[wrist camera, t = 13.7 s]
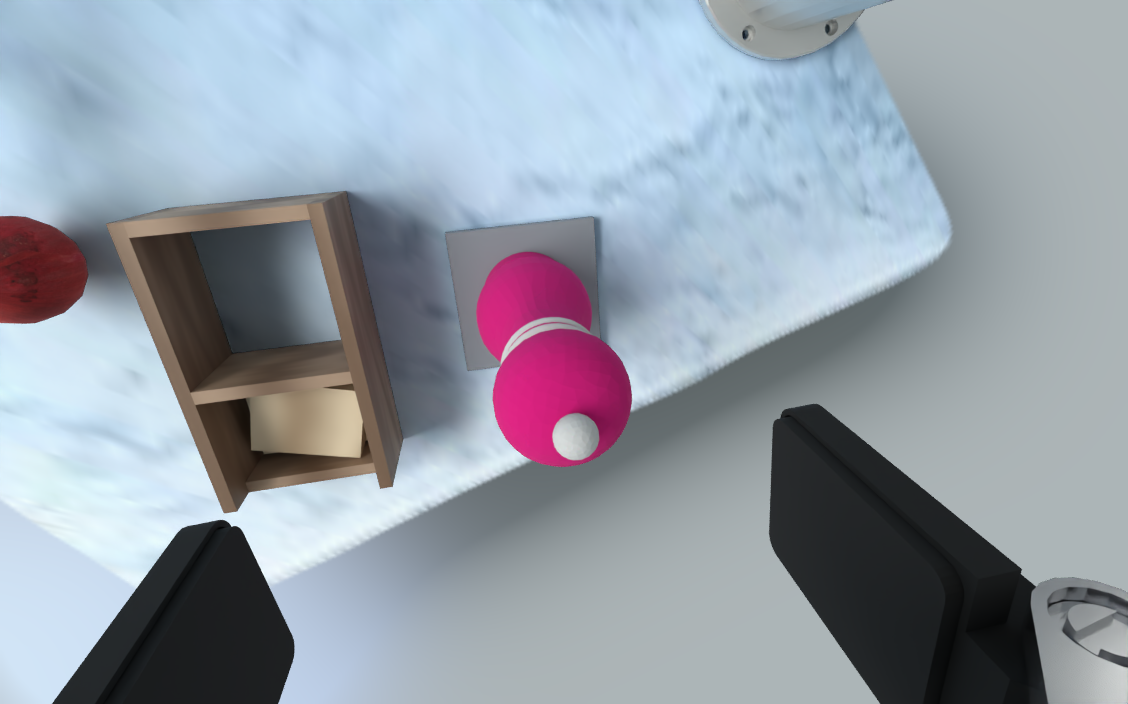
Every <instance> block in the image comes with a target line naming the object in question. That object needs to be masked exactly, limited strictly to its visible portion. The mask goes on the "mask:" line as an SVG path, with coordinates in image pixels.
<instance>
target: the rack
mask: <svg viewBox="0 0 1128 704" xmlns="http://www.w3.org/2000/svg"><path fill="white" fill-rule="evenodd" d="M301 220H311V224H312V228H313V232H314V236H315V239H316V243H317V247H318V251H319V255H320V259H321V263H322V266H323V270H324V274H325V278H326V282H327V286H328V289H329V293H330V297H331V301H332V305H333V309H334V313H335V316H336V320H337V324H338V328H339V332H340V336H341V340H336V341H328V342H321V343H313V344H305V345H297V346H289V347H281V348H273V349H265V350H257V351H249V352H242V353H234V354H232V352H231V349H230V346H229V343H228V340H227V337H226V334H225V332H224V329H223V326H222V323H221V320H220V317H219V314H218V312H217V309H216V306H215V303H214V300H213V297H212V294H211V292H210V289H209V286H208V283H207V280H206V277H205V274H204V271H203V269H202V266H201V263H200V260H199V257H198V254H197V251H196V249H195V246H194V243H193V240H192V237H191V234H190V232H193V231H202V230H212V229H222V228H232V227H242V226H252V225H262V224H272V223H282V222H291V221H301ZM106 226H107V228H108V230H109V233H110V235H111V238H112V240H113V243H114V245H115V248H116V250H117V252H118V255H119V257H120V260H121V262H122V265H123V267H124V270H125V272H126V275H127V277H128V279H129V282H130V284H131V287H132V289H133V292H134V294H135V297H136V299H137V301H138V304H139V306H140V309H141V311H142V314H143V316H144V319H145V321H146V324H147V326H148V328H149V331H150V333H151V336H152V338H153V341H154V343H155V346H156V348H157V350H158V353H159V355H160V358H161V360H162V363H163V365H164V368H165V370H166V373H167V375H168V377H169V380H170V382H171V385H172V387H173V390H174V392H175V395H176V397H177V400H178V402H179V404H180V407H181V409H182V412H183V414H184V417H185V419H186V422H187V424H188V426H189V429H190V431H191V434H192V436H193V439H194V441H195V444H196V446H197V449H198V451H199V453H200V456H201V458H202V461H203V463H204V466H205V468H206V471H207V473H208V475H209V478H210V480H211V483H212V485H213V488H214V490H215V493H216V495H217V498H218V500H219V502H220V505H221V507H222V510H223V512H224V513H230V512H236V511H238V509H239V507H240V506H241V504H242V503H243V501H244V499H245V498H246V496H247V494H248V493H249V492H254V491H260V490H267V489H273V488H279V487H286V486H292V485H299V484H305V483H312V482H318V481H325V480H331V479H337V478H344V477H350V476H357V475H363V474H370V473H376V474H377V478H378V482H379V486H380V489H381V488H387V487H393V482H394V478H395V473H396V469H397V464H398V460H399V455H400V451H401V446H402V442H403V437H402V433H401V428H400V424H399V419H398V415H397V411H396V406H395V402H394V398H393V393H392V389H391V385H390V380H389V376H388V372H387V367H386V363H385V358H384V354H383V350H382V345H381V341H380V337H379V332H378V328H377V324H376V319H375V315H374V311H373V306H372V302H371V297H370V293H369V289H368V284H367V280H366V276H365V271H364V267H363V263H362V258H361V254H360V249H359V245H358V241H357V236H356V232H355V228H354V223H353V219H352V215H351V210H350V206H349V202H348V197H347V193H346V191H342V192H332V193H321V194H311V195H301V196H290V197H280V198H269V199H259V200H248V201H238V202H228V203H217V204H207V205H196V206H186V207H176V208H166V209H162V210H158V211H155V212H151V213H147V214H143V215H139V216H135V217H131V218H127V219H123V220H119V221H115V222H111V223H107V224H106ZM352 383H353V386H354V390H355V393H356V397H357V401H358V405H359V409H360V413H361V416H362V420H363V424H364V428H365V432H366V436H367V441H365V446H364V449H363V452H362V455H361V458H353V457H339V456H325V455H311V454H297V453H283V452H277V453H269V454H264V453H263V451H254V450H251V421H250V410H249V407H248V404H247V401H246V398H249V397H257V396H264V395H272V394H279V393H286V392H294V391H301V390H308V389H316V388H323V387H330V386H338V385H345V384H352Z"/></svg>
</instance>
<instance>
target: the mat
mask: <svg viewBox="0 0 1128 704" xmlns="http://www.w3.org/2000/svg"><path fill="white" fill-rule="evenodd" d="M445 237H446V243H447V249H448V255H449V261H450V267H451V273H452V279H453V285H454V291H455V297H456V303H457V310H458V316H459V322H460V328H461V334H462V340H463V346H464V352H465V358H466V364H467V370H468V371H472V370H479V369H486V368H494V367H500V366H501V362H499V361H498V360H497V359H496V358H495V357H494V356H493V355H492V354H491V353H490V352H489V350H488V349H487V347H486V346H485V345H484V343H483V340H482V338H481V335H480V332H479V329H478V324H477V317H476V309H477V302H478V299H479V295H480V293H481V290H482V288H483V286H484V285H485V282H486V279H487V277H488V275H489V273H490V272H491V270H492V269H493V268H494V267H495V266H496V265H497V264H498V263H499V262H500V261H501V260H503V259H504V258H506V257H508V256H510V255H513V254H516V253H521V252H536V253H540V254H544V255H546V256H548V257H550V258H552V259H554V260H555V261H557V262H559V263H561V264H563V265H565V266H566V267H568V268H569V269H570V270H572V271H573V272H574V273H575V274H576V275H577V276H578V278H579V279H580V280H581V282H582V284H583V285H584V287H585V289H586V291H587V294H588V296H589V300H590V303H591V308H592V323H591V328H590V333H591V334H592V335H593V336H596V337H598V338H599V339H600V322H599V304H598V286H597V268H596V250H595V233H594V218H593V217H583V218H574V219H565V220H555V221H546V222H536V223H527V224H518V225H508V226H499V227H490V228H480V229H471V230H461V231H452V232H445ZM600 340H601V339H600Z"/></svg>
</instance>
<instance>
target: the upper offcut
mask: <svg viewBox="0 0 1128 704" xmlns="http://www.w3.org/2000/svg"><path fill="white" fill-rule="evenodd" d="M250 421H251V450H254V451H269V452H283V453H297V454H311V455H325V456H339V457H353V458H361V455H362V452H363V449H364V446H365V438H366V432H365V428H364V424H363V420H362V416H361V413H360V409H359V405H358V401H357V397H356V393H355V390H354V386H353V383H352V384H345V385H338V386H330V387H323V388H316V389H308V390H301V391H294V392H286V393H279V394H272V395H264V396H257V397H250Z"/></svg>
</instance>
